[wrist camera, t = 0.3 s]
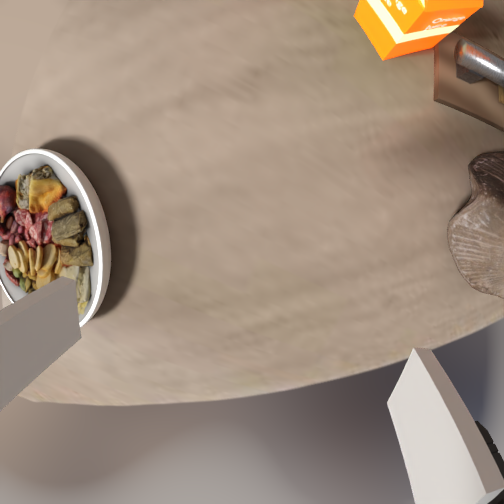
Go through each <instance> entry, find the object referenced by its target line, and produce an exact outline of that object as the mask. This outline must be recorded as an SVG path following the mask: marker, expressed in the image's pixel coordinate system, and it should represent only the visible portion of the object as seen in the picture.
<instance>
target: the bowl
mask: <svg viewBox="0 0 504 504" xmlns="http://www.w3.org/2000/svg"><path fill="white" fill-rule="evenodd" d="M110 269H111V245H110V236H109V230H108V225H107V221H106V218H105V214H104V211H103V208H102V205H101V203H100V200H99V198H98V196H97V194H96V192H95V190H94V188H93V186H92V184H91V183H90V181H89V180H88V178H87V177H86V176H85V174H84V173H83V172H82V171H81V169H80V168H79V167H78V166H77V165H76V164H74V163H73V162H72V161H71V160H70V159H68V158H67V157H65V156H63V155H62V154H60V153H57V152H55V151H52V150H48V149H28V150H25V151H22V152H20V153H18V154H16V155H15V156H14V157H12V158H11V159H10V160H9V161H8V162H7V163H6V165H5V166H4V167H3V168H2V170H1V171H0V284H1V286H2V288H3V290H4V291H5V293H6V295H7V296H8V298H9V299H10V301H11V302H12V303H14V302H16V301H18V300H19V299H21V298H23V297H25V296H26V295H28V294H30V293H32V292H34V291H35V290H37V289H39V288H41V287H43V286H45V285H46V284H48V283H50V282H52V281H54V280H56V279H58V278H60V277H61V276H64V277H67V278H70V279H73V280H75V282H76V295H77V306H78V315H79V323H80V328H81V327H82V326H83V325H85V324H86V323H87V322H88V321H89V320H90V319H91V318H92V317H93V316H94V315H95V313H96V312H97V310H98V309H99V307H100V305H101V303H102V301H103V299H104V296H105V294H106V290H107V287H108V283H109V278H110Z"/></svg>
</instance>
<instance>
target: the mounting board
mask: <svg viewBox="0 0 504 504" xmlns="http://www.w3.org/2000/svg"><path fill="white" fill-rule="evenodd" d="M460 39H464V40H466V41H468V42H470V43H472V44H474V45H476V46H478V47H480V48H482V49H484V50H485V51H487V52H489V53H491V54H493V55H494V56H496V57H498V58H499V59H501V60H503V61H504V58H502V57H500V56H499V55H497V54H495V53H493V52H492V51H490V50H488V49H486V48H485V47H483V46H481V45H479V44H477V43H475V42H473V41H471V40H469V39H467V38H465V37H463V36H461V35H459V34H457V33H455V32H453V31H452V32H451V33H449V34H448V35H446V36H445V37H444V38H443V39H442V40H441V41H439V42H438V43H437V44H436V45H435V46H434V101H436V102H439V103H441V104H444V105H446V106H449V107H451V108H454V109H456V110H459V111H461V112H463V113H466V114H468V115H470V116H472V117H474V118H477V119H479V120H481V121H483V122H485V123H487V124H489V125H491V126H493V127H495V128H497V129H499V130H501V131H503V132H504V104H503V103H501V102H499V86H498V84H497V83H495V82H493V81H491V80H489V79H487V78H486V77H484V76H483V79H481V80H478V81H476V82H474V83H472V84H469V83H467V82H465V81H463V80H461V79H458V78H456V62H455V59H454V50H455V46H456V44H457V42H458V41H459V40H460Z"/></svg>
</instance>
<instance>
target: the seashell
mask: <svg viewBox="0 0 504 504" xmlns="http://www.w3.org/2000/svg"><path fill="white" fill-rule="evenodd" d="M468 169H469V175H470V176H469V179H470V184H471V188H472V195H471V198H470V200H469V201H468V203H467V204H466V205H465V206H464V207H463V208H462V209H461V210H460V211H459V212H458V213H456V214H455V215H454V216H453V218H452V219H451V220H450V221H449V224H448V229H447V239H448V244H449V248H450V251H451V254H452V256H453V258H454V261H455V263H456V265H457V268H458V270H459V272H460V273H461V275H462V276H463V278H464V279H465V280H466V281H467V282H468V283H469V284H470V286H471V287H472V288H474V289H476V290H478V291H480V292H482V293H486V294H490V295H495V296H498V297H501V298H503V299H504V152H493V153H485V154H481V155H479V156H478V157H477V158H475V159H474V160H473V161H471V163H470V164H469V166H468Z"/></svg>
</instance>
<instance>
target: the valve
mask: <svg viewBox="0 0 504 504" xmlns="http://www.w3.org/2000/svg"><path fill="white" fill-rule="evenodd" d="M454 59H455V62H456V78H458V79H461V80H463V81H465V82H467V83H469V84H472V83H474V82H476V81H478V80H481V79H483V76H484V77H486V78H487V79H489V80H491V81H493V82H495V83H497V84H498V86H499V102H501V103H503V104H504V61H503V60H501V59H499V58H498V57H496V56H494V55H493V54H491V53H489V52H487V51H485V50H484V49H482V48H480V47H478V46H476V45H474V44H472V43H470V42H468V41H466V40H464V39H460V40H459V41H458V42H457V44H456V46H455V50H454Z"/></svg>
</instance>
